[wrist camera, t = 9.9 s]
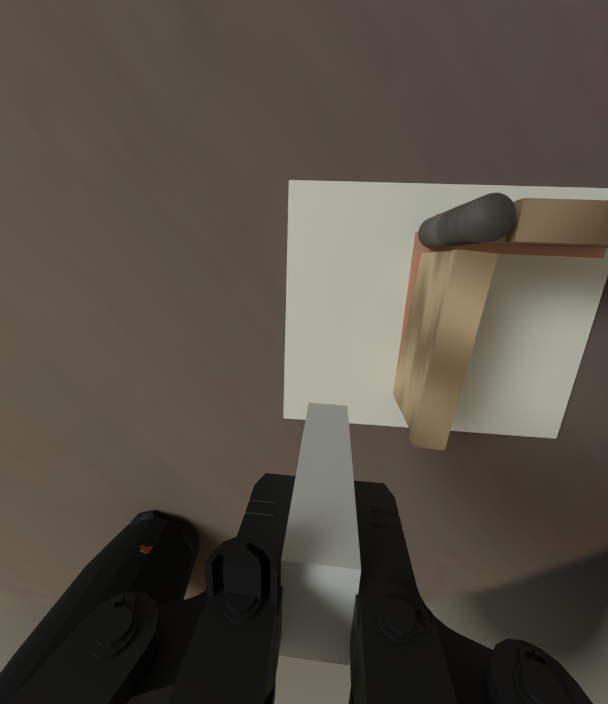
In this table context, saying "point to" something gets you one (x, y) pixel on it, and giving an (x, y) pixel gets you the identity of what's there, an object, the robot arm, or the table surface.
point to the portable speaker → (110, 588)
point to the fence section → (519, 223)
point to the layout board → (396, 296)
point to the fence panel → (440, 340)
